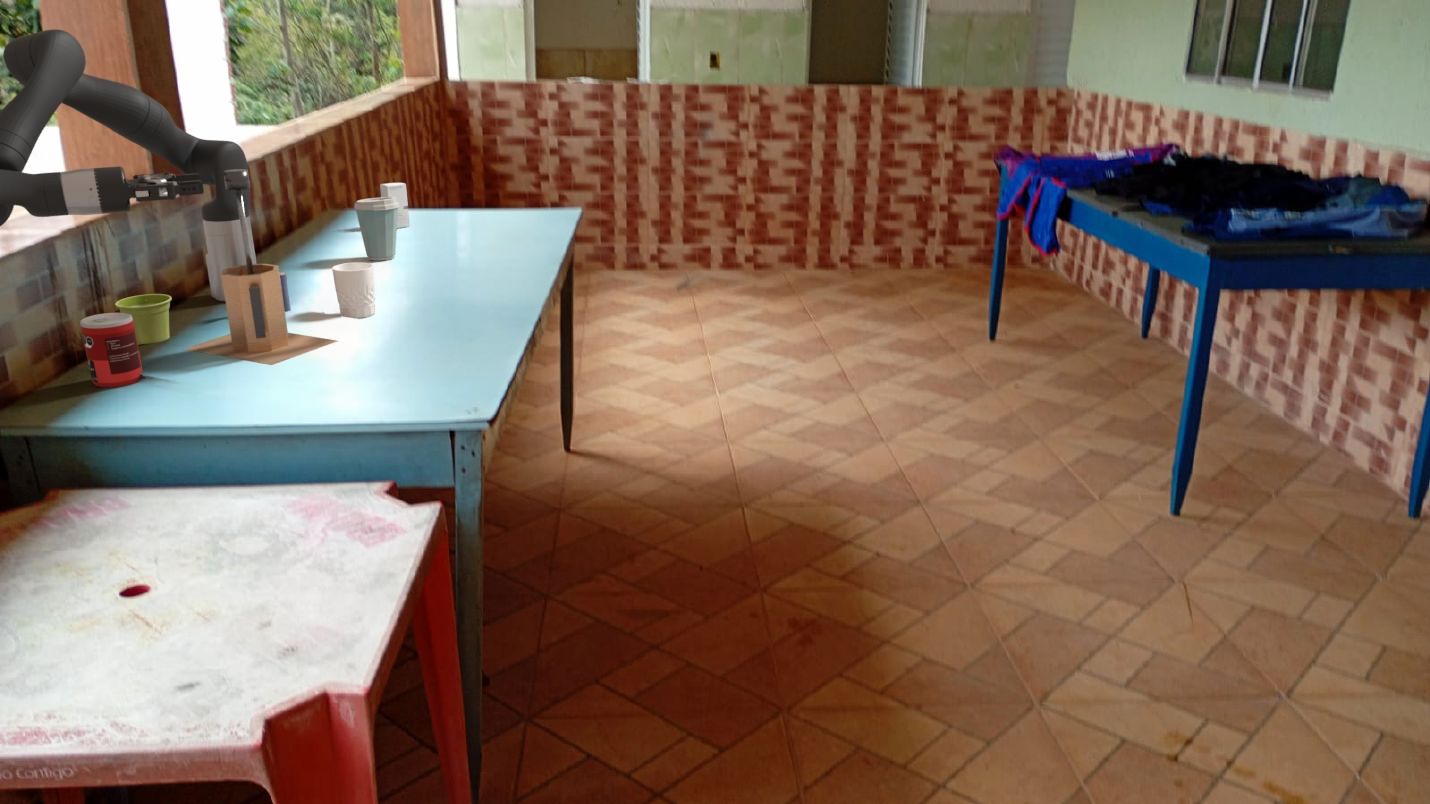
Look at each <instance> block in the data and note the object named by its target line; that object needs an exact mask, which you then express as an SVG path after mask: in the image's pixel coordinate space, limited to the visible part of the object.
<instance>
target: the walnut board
mask: <svg viewBox="0 0 1430 804" xmlns="http://www.w3.org/2000/svg"><path fill="white" fill-rule="evenodd" d="M288 337H289V344H288V345H287V346H285V347H282V348H279V349H276V350H273V351H265V352H255V353H246V352H240V351H234V350H233V346H232V339H231V333H229V334H225V335H223V336H222V335H221V336H219V337H216V338H214V339H209V340H207V341H204V342H200V343H197V344H194V345H191V346H187V347H185V348H183V350H185V351H191V352H196V353H202V354H207V355H213V356H219V357H224V358H230V359H236V360H240V361H241V360H242V361H248V362H252V363H258V364H263V365H268V366H269V365H270V366H273V365H276V364H278V363H282V362H284V361H287V360H289V359H292V358H295V357H298V356H301V355H303V354H306V353H310V352H312V351H314V350H317V349H320V348H323V347H326V346H329V345H331V344H334V343H336V342H338V339H337V340H336V339H331V338H323V337H318V336H311V335H305V334H300V333H292V332H288Z"/></svg>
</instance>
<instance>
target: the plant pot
mask: <svg viewBox="0 0 1430 804" xmlns="http://www.w3.org/2000/svg"><path fill="white" fill-rule="evenodd" d="M172 300H173V299H172V296H171V295H169V294H162V293H149V294H139V295H134V296H129V297H125V298H122V299H119V300H116V302H115V304H114V305H115V307H117V309H118V310H119V313H126V314H130V315H132V318H133V323H134V327H135V333H136V338H137V344H138V346H139V345H143V344H144V345H149V344H155V343H160V342H164V341H166V340H169V339H170V337H171V336H170V334H171V333H170V311H169V310H170V306H171V301H172Z"/></svg>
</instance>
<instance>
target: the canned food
mask: <svg viewBox="0 0 1430 804" xmlns="http://www.w3.org/2000/svg"><path fill="white" fill-rule="evenodd" d="M79 322H80V324H79V325H80V330H81V335H82V341H83V344H84V345H83V346H84V350H85V354H86V360H87V364H88V369H89V374H90V379H91V381H92V383H93V384H95V385H94V386H97V387H98V386H99V387H100V388H107V387H110V388H120V387H125V386H130V385H133V384H136V383H138V382H140V381H141V380H142V379H143V372H144V371H143V367H142V361H141V355H140V351H139V349H140V348H139V345H138V344H137V338H136V333H135V327H134V323H133V318H132V315H130V314H126V313H121V312H108V313H100V314H93V315H90V316H87V317H85V318H83V319H80V321H79Z"/></svg>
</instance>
